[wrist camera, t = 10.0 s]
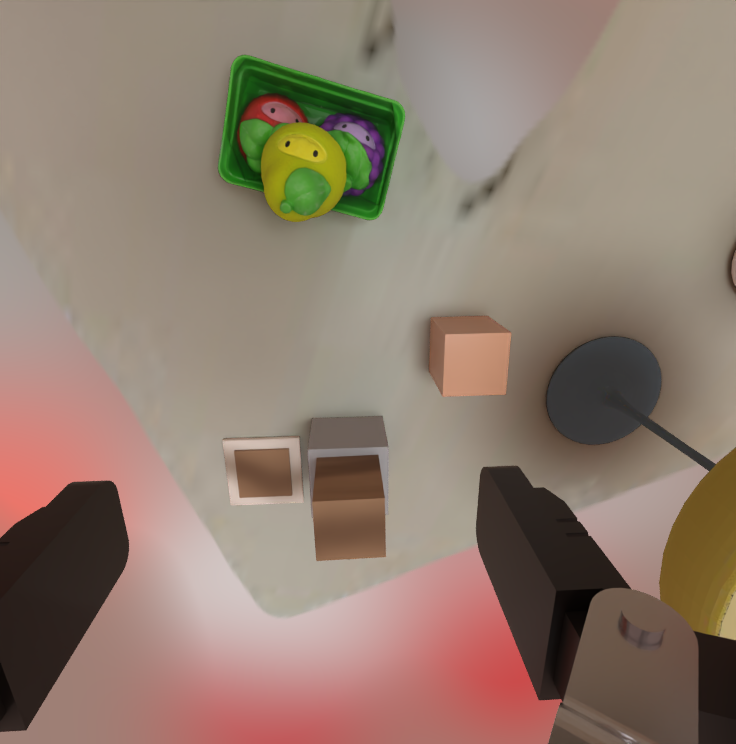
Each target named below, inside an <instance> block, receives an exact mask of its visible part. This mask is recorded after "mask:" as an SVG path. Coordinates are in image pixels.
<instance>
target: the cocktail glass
mask: <svg viewBox="0 0 736 744" xmlns="http://www.w3.org/2000/svg"><path fill="white" fill-rule="evenodd" d="M660 390H661V371H660V367H659V364H658V362H657V360H656V358H655V357H654V355H653V354H652V353H651V351H650V350H649V349H648V348H646V347H645V346H644V345H642V344H641V343H639V342H637V341H635V340H632V339H628V338H625V337H615V336H614V337H604V338H599V339H595V340H592V341H590V342H587V343H585V344H583V345H582V346H580V347H578V348H577V349H575V350H574V351H573V352H571V353H570V354H569V355H568V356H567V357H566V358H565V359H564V360H563V361H562V362H561V363H560V365H559V366H558V367H557V369H556V370H555V372H554V374H553V376H552V378H551V380H550V383H549V386H548V391H547V410H548V414H549V416H550V419H551V421H552V423H553V424H554V426H555V427H556V428H557V429H558V431H559V432H560V433H562V434H563V435H564V436H565V437H567V438H569V439H571V440H573V441H576V442H579V443H583V444H604V443H609V442H613V441H616V440H618V439H620V438H623V437H625V436H626V435H628V434H630V433H631V432H633V431H634V430H635V429H637V428H638V427H639V426H640V425H641V424H642V425H643V426H645V427H646V428H648V429H649V430H651V431H652V432H654V433H655V434H657V435H658V436H660V437H661V438H663V439H664V440H666V441H667V442H668V443H670V444H671V445H673V446H674V447H676V448H677V449H678V450H680V451H681V452H683V453H684V454H686V455H687V456H689V457H690V458H691V459H693V460H694V461H696V462H697V463H698V464H700V465H701V466H703V467H704V468H705V469H707V470H708V471H709V473H708V474H707V475H706V476H705V477H704V478H703V479H702V480H701V481H700V483H699V484H698V485H697V487H696V488H695V489H694V491H693V492H692V494H691V495H690V496H689V498H688V499H687V500H686V502H685V503H684V505H683V507H682V509H681V511H680V513H679V515H678V517H677V518H676V520H675V522H674V524H673V526H672V529H671V532H670V535H669V538H668V541H667V544H666V547H665V550H664V553H663V560H662V567H661V574H660V581H659V584H660V599H661V601H662V602H664V603H666V604H667V605H669V606H670V607H672V608H673V609H674V610H675V611H676V612H678V613H679V614H680V615H681V616H682V617H683V618H684V619H685V620H686V621H687V623H688V624H689V625H690V626H691V628H692V630H693V631H697V632H701V633H705V634H709V635H714V636H719V637H723V638H728V639H733V640H736V448H734V449H733V450H732V451H731V452H730V453H729V454H727V455H726V456H725V457H724V458H723V459H721V460H720V461H719V462H718V463H717V464H715V463H713V462H712V461H710V460H709V459H707V458H706V457H704V456H703V455H701V454H700V453H698V452H697V451H695V450H694V449H692V448H691V447H689V446H688V445H687V444H685V443H684V442H682V441H681V440H679V439H678V438H676V437H675V436H674V435H672V434H671V433H669V432H668V431H666V430H665V429H663V428H662V427H661V426H659V425H658V424H656V423H655V422H653V421H652V420H651V419H649V418H648V416H649V415H650V414H651V412H652V410H653V409H654V407H655V405H656V403H657V400H658V398H659V395H660Z"/></svg>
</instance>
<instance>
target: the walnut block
mask: <svg viewBox="0 0 736 744" xmlns="http://www.w3.org/2000/svg"><path fill="white" fill-rule="evenodd" d="M312 508H313V521H314V534H315V548H316V561H323V560H340V559H358V558H376V557H386V543H385V495H384V489H383V482H382V475H381V469H380V462H379V455H361V456H340V457H319V458H317V459H316V469H315V479H314V488H313V498H312Z"/></svg>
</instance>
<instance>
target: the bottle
mask: <svg viewBox="0 0 736 744" xmlns="http://www.w3.org/2000/svg"><path fill="white" fill-rule="evenodd" d="M731 274H732V278H733V282H734V284H735V286H736V250H735V254H734V257H733V260H732V269H731Z"/></svg>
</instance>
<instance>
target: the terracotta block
mask: <svg viewBox="0 0 736 744" xmlns="http://www.w3.org/2000/svg"><path fill="white" fill-rule="evenodd" d="M510 342H511V332H510V331H508V330H507V329H505V328H504V327H503V326H501V325H500V324H498V323H497V322H496V321H494V320H493V319H491V318H490V317H489V316H460V317H431V327H430V358H429V372H430V374H431V376H432V378H433V380H434V382H435V383H436V385H437V387H438V389H439V391H440V393H441V394H442V396H443V397H445V396H475V395H506V385H507V375H508V364H509V353H510Z"/></svg>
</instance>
